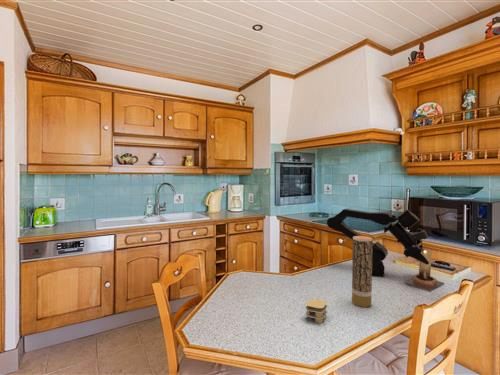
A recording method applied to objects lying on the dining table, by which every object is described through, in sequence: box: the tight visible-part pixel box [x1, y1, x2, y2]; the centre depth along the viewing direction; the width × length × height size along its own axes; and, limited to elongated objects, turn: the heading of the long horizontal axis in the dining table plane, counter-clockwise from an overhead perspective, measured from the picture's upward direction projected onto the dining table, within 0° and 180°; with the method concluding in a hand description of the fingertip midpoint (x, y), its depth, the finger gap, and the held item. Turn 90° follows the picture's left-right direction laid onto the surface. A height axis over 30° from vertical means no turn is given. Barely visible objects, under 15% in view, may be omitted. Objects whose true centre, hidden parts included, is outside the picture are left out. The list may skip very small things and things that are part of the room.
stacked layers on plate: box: [305, 298, 328, 324], centre depth 91 cm, size 10×9×6 cm
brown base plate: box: [404, 273, 445, 292], centre depth 120 cm, size 14×10×3 cm
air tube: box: [418, 248, 432, 278], centre depth 119 cm, size 4×4×12 cm
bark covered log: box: [351, 235, 374, 308], centre depth 101 cm, size 7×7×25 cm
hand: (428, 262), depth 119 cm, fingers closed on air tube, 4 cm apart
